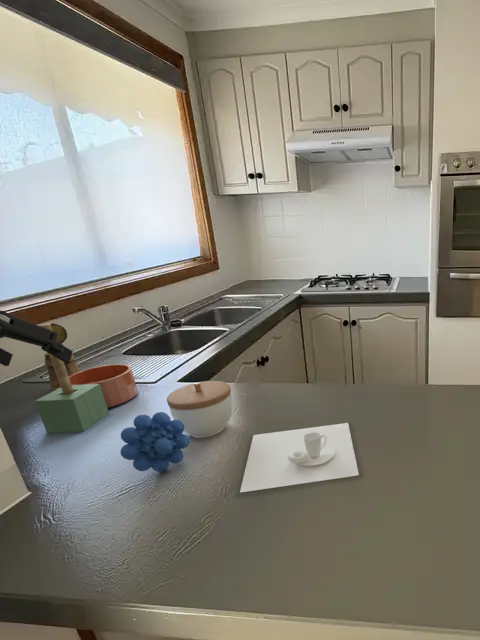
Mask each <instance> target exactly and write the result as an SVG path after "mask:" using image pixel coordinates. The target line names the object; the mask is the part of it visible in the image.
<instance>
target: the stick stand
mask: <svg viewBox="0 0 480 640" xmlns="http://www.w3.org/2000/svg"><path fill="white" fill-rule="evenodd" d="M72 388H73V391H74V392H73V393H72V394H69V395H64V394H63V392H62V389H61V387H60V388H59V389H57V390H55V391H53V392H52V391H51V392H49V393H48V394H45V395H44V396H42V397H40V398H38V399H36V400H34V403H35V406H36V409H37V411H38V415H39V416H40V420H41V421H42V424H43V426H44V430H45V433H47V434H51V433H53V434H55V433H79V432H86V431H88V429H90V428H91V427H93V426H94V425H96V424H97V423H98V422H100V421H101V420H103V419H104V418H105V417H107V416H108V415H110V412H109V408H107V405H106V402H105V399H104V396H103V393H102V390H101V387H100V384H87V385H72Z"/></svg>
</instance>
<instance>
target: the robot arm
mask: <svg viewBox="0 0 480 640" xmlns="http://www.w3.org/2000/svg"><path fill="white" fill-rule="evenodd" d="M57 337H58V333H56V332H54V331H51V330H48V329H46V328H43V327H40V326H39V325H37V324H35V323H32V322H30V321H27V320H24V319H22V318H19V317H16V316H14V315H12V314H11V313H8V312H7V311H4V310H0V339H3V338H7V339H12V340H16V341H18V342H23V343H27V344H30V345H34V346H37V347H41V348H40V349H41V350H42V351H43V352H45V353H49V354H51V355H53V356H55V357H56V358H58V359H60V360H61V361H63V362H65V363H69V362H70V359H71V356H72V354H73V352H74V351H73V350H71V349H70V348H68V347H66V346H65V345H64V344H63V343H62V344H61V343H59V342H57V341H56V340H57ZM13 355H14V354H13V353H11V352H10V351H7V350H5V349H3V348H1V347H0V365H2V366H4V367H9V365H10V364H11V361H12V358H13Z"/></svg>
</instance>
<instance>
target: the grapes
mask: <svg viewBox="0 0 480 640" xmlns="http://www.w3.org/2000/svg"><path fill="white" fill-rule="evenodd" d="M120 439H121V440H122V441H123V443H125V444H124V445H123V446H122V447H121V448H120V456H121V457H122V458H123V459H124V460H127V461H133V462H132V466H133V468H134V469H135V470H136V471H139V472H147V471H148V470H150V469H152V470H153V471H154V472H157V473H163V472H166V471H167V470H168V469H169V467H170V463H171V464H179V463H180V462H182V461H183V459H184V456H185V455H184V452H183V451H182V450H183V449H184V450H185V449H186V448H187V447H188V446H189V444H190V438H189V437H188V436H187V435H186V434H184V424H183V423H182V422H181V421H179V420H174V419H173V420H171V417H170V416H169V414H167V413H166V412H164V411H159V412H156V413H154V414H153V416H152V417H150V416H149V415H148V414H138V415H137V416H136V417H134V419H133V426H130V427H125V428H124V429H122V431H121V432H120Z"/></svg>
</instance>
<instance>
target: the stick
mask: <svg viewBox="0 0 480 640" xmlns="http://www.w3.org/2000/svg"><path fill="white" fill-rule="evenodd" d="M50 324H51V323H43V324H39V325H38V326H40V327H43V328H46V329H48V330H51V331H53V330H52V328H51V325H50ZM49 355H50V358H51V361H52V364H53V366H54V369H55V372H56V375H57V378H58V380H59V383H60V386H61V389H62V392H63V394H64V395H69V394H72V393H73V392H74V391H73V388H72V385H71V382H70V379H69V377H68V374H67V371H66V368H65V365H64V362H63V361H61V360H60V359H58V358H56V357H55V356H53V355H51V354H49Z"/></svg>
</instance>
